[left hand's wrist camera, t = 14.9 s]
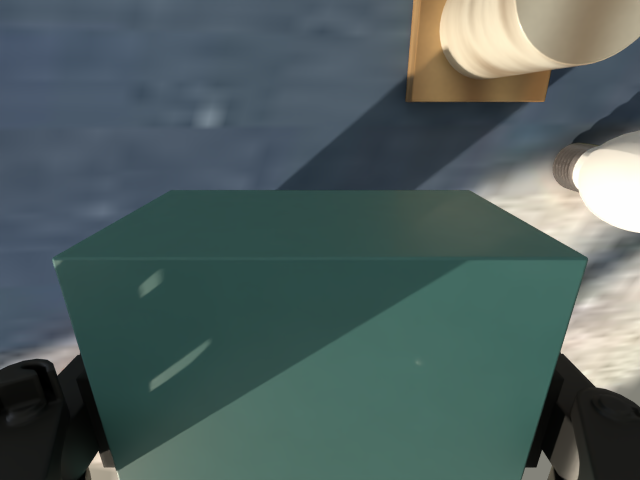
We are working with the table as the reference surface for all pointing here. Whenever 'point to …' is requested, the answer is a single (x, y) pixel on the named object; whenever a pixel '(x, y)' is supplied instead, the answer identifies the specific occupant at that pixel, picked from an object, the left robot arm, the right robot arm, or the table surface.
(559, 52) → the wooden block stand
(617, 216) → the light bulb
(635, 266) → the table surface
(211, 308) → the teal green squarish block
